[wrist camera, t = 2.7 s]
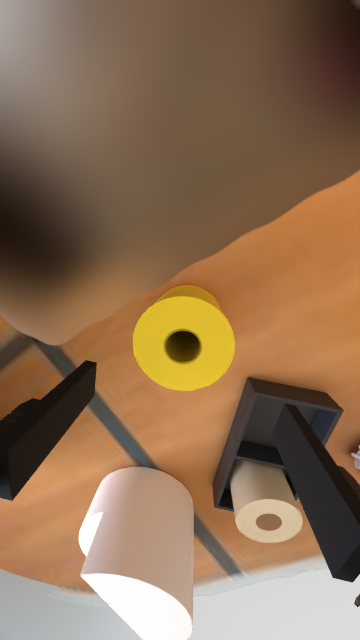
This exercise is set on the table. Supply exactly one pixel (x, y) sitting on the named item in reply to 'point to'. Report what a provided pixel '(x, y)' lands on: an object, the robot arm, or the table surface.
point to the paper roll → (263, 502)
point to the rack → (269, 429)
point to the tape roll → (184, 339)
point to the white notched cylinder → (142, 551)
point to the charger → (357, 459)
